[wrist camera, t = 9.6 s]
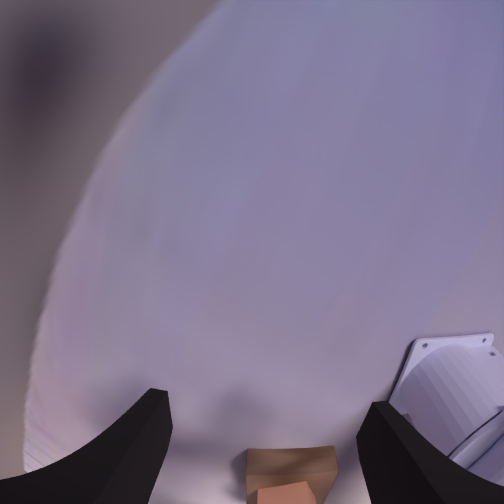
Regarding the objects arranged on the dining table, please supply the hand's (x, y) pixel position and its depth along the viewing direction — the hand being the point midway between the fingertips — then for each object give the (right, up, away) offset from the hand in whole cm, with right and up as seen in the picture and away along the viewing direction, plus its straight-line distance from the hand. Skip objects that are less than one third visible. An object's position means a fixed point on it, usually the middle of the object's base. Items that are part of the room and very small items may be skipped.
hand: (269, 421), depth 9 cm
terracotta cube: (+3, -17, +11) cm, 21 cm away
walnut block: (+3, -16, +14) cm, 22 cm away
